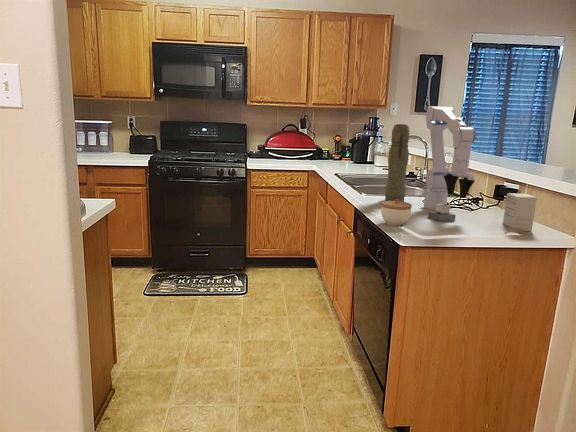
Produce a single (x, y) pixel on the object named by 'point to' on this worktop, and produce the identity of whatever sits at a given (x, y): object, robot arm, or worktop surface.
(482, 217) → the worktop surface
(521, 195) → the supplement box
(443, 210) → the column
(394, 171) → the potted cactus
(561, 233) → the worktop surface
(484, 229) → the worktop surface
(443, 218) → the stand base
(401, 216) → the lidded jar
